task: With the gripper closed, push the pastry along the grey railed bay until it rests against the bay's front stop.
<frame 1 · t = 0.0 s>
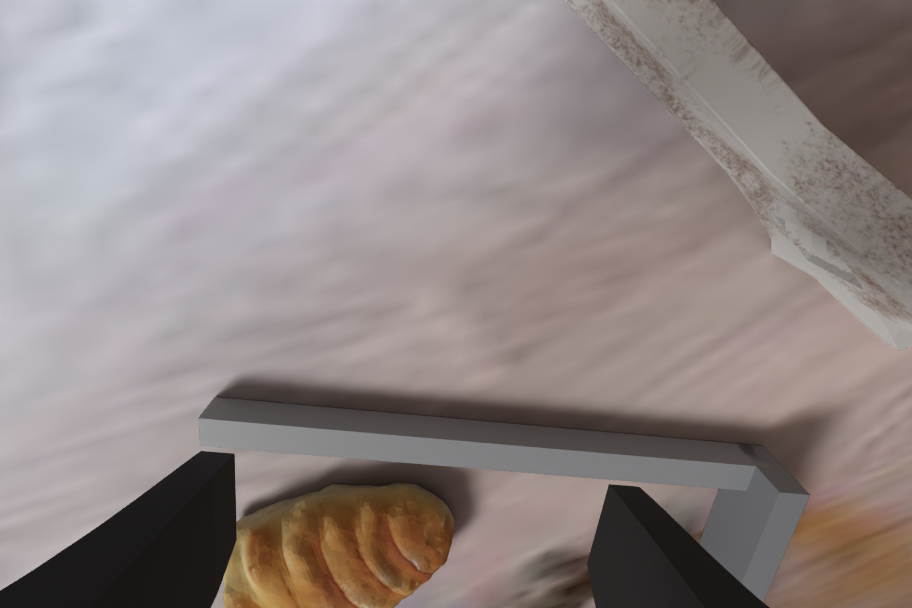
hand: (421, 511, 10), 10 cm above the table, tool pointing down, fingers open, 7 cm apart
pastry: (336, 530, 24), on the table
bay: (492, 550, 24), on the table
wrench: (616, 41, 17), on the table
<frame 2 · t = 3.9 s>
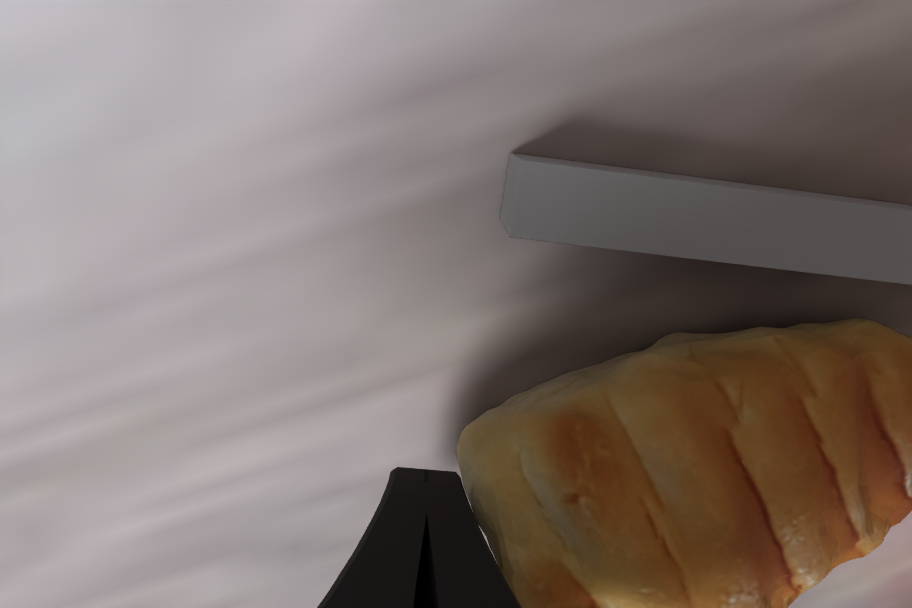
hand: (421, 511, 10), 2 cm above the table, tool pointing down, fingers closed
pastry: (645, 440, 12), on the table, touching gripper
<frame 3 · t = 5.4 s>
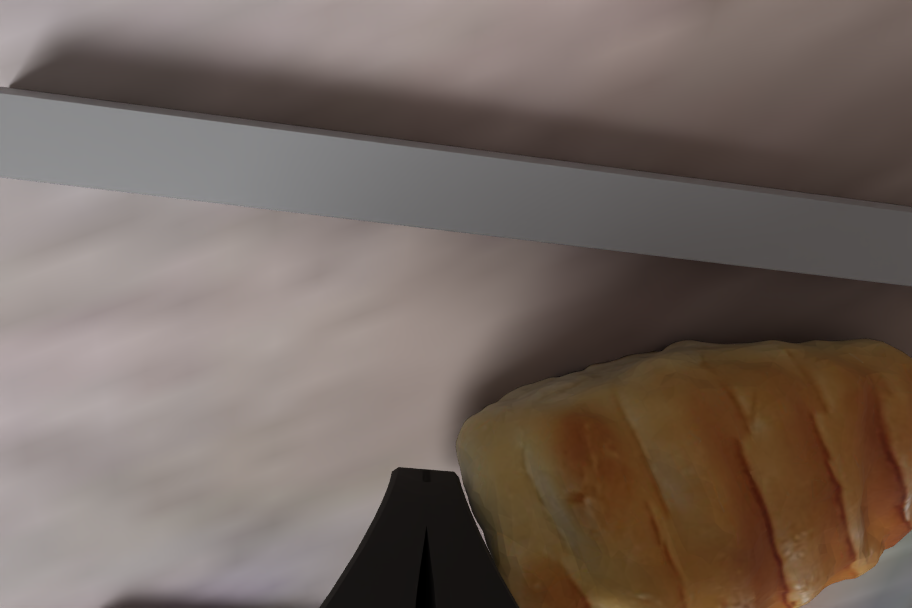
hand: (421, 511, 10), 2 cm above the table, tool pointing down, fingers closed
pastry: (643, 447, 12), on the table, touching gripper
bay: (609, 475, 12), on the table
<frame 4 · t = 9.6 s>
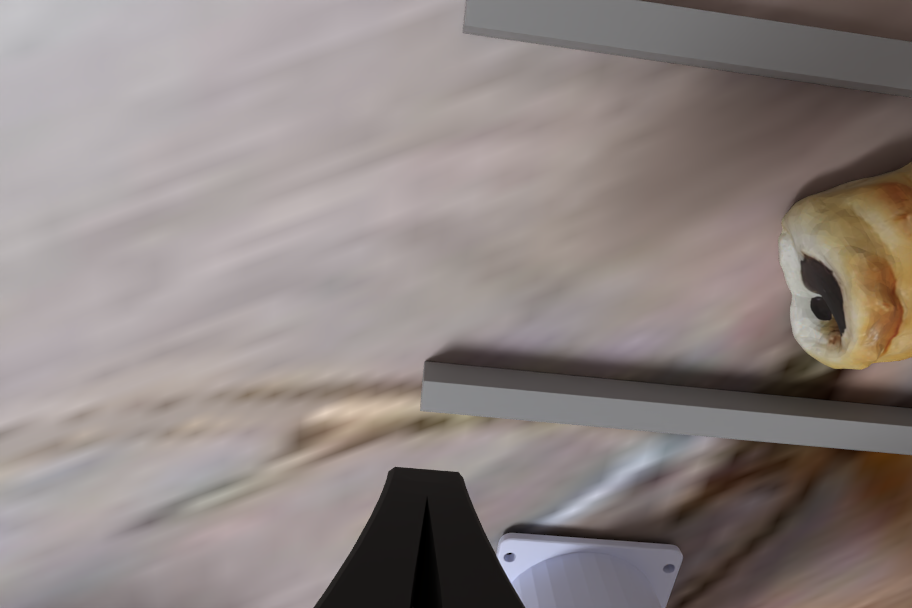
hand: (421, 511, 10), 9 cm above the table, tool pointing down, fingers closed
pastry: (878, 242, 19), on the table
bay: (780, 254, 18), on the table
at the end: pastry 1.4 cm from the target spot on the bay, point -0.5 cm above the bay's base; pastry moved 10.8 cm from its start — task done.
